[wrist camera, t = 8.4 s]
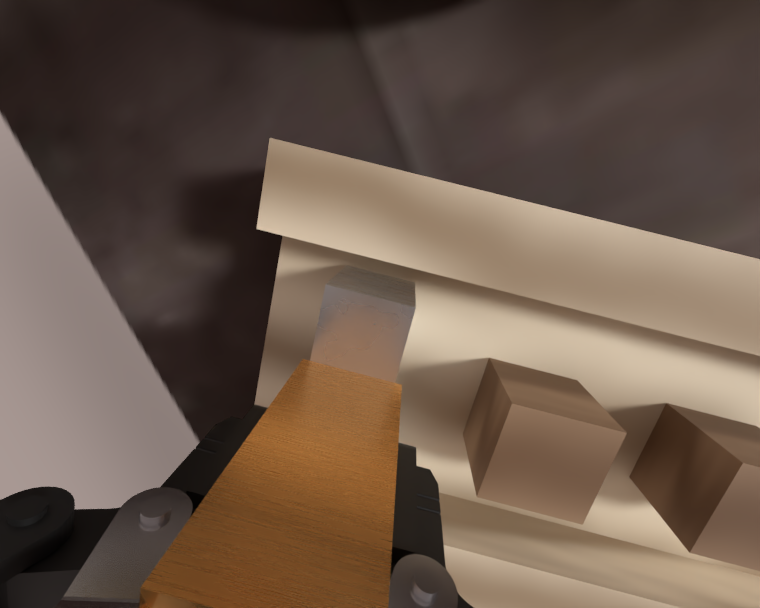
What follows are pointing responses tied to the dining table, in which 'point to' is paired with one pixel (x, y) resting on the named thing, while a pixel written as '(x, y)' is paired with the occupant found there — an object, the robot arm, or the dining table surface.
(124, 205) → the dining table surface
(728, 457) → the brown cube
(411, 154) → the dining table surface
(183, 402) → the dining table surface
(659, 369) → the channel board
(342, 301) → the scraper
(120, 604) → the robot arm
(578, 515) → the brown wooden cube
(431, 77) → the dining table surface
